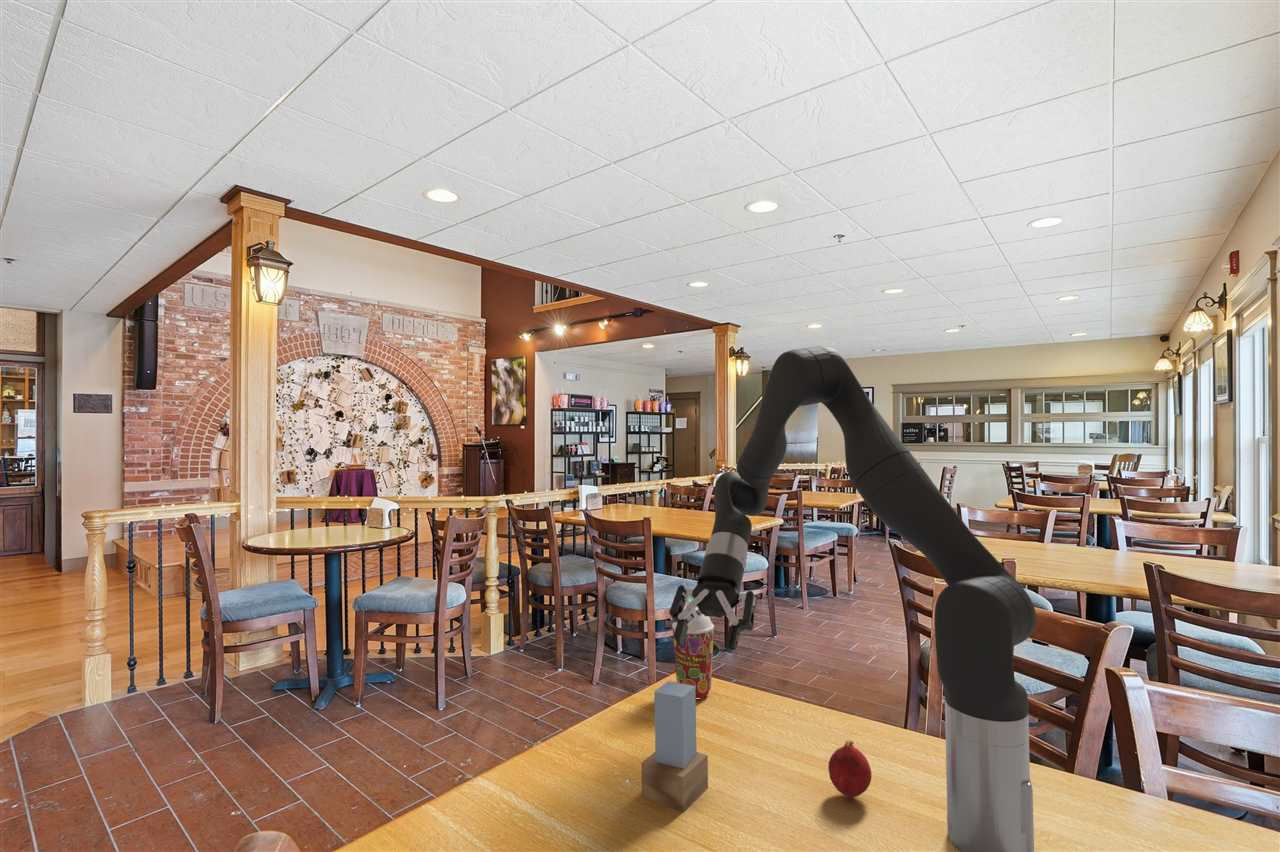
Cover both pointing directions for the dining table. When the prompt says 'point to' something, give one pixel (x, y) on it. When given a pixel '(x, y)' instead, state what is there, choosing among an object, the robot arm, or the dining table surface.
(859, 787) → the onion
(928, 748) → the dining table surface
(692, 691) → the pillar
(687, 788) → the walnut block
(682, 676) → the smoothie
